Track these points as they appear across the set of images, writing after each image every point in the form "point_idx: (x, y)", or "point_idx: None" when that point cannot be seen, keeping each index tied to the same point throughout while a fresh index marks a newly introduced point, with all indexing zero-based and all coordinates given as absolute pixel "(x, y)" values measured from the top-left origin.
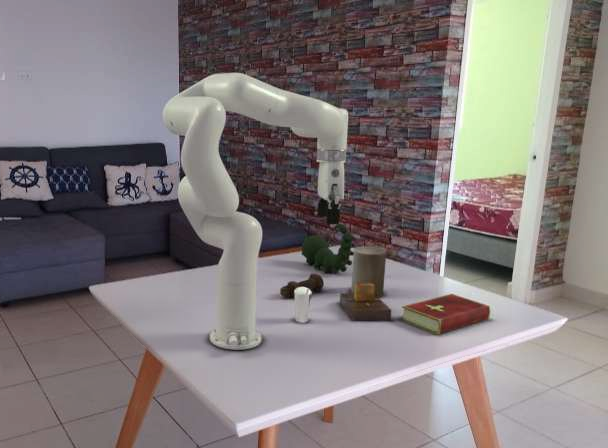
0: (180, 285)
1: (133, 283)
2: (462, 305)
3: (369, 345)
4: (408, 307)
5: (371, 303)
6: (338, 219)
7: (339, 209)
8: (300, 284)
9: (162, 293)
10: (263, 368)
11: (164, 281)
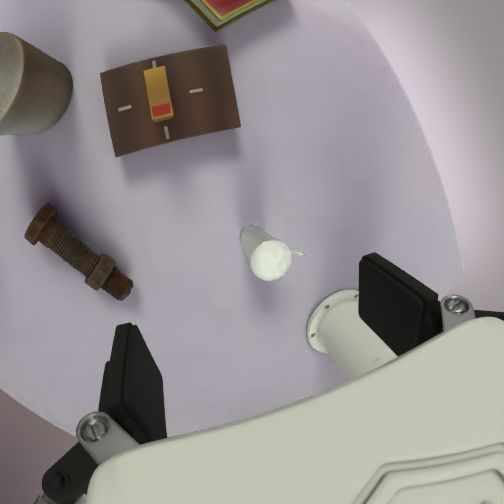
0: None
1: None
2: None
3: (349, 121)
4: (228, 10)
5: (185, 81)
6: (389, 265)
7: (435, 294)
8: (87, 261)
9: None
10: (407, 271)
11: None
